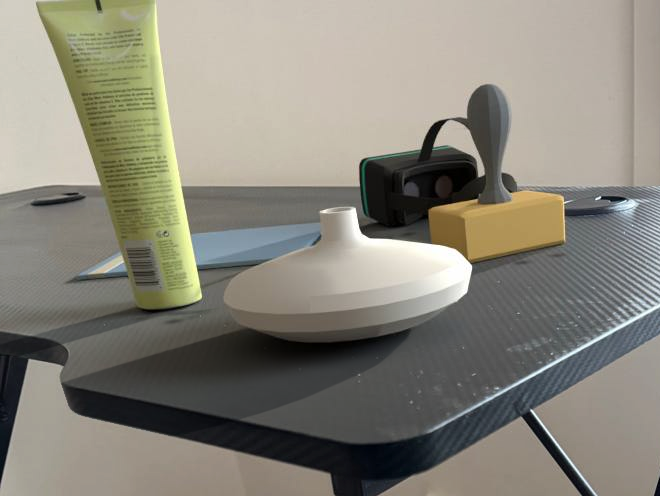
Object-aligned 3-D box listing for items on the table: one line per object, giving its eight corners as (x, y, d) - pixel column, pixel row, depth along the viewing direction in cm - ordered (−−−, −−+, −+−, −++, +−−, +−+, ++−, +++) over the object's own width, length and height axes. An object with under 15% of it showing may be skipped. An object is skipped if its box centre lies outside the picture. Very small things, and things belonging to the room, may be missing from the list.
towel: (77, 280, 83) (76, 275, 83) (144, 242, 98) (143, 237, 98) (296, 260, 82) (295, 255, 81) (330, 225, 97) (329, 220, 96)
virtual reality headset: (455, 201, 100) (451, 95, 93) (544, 239, 89) (546, 121, 82) (362, 218, 95) (352, 108, 89) (443, 260, 84) (438, 137, 78)
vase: (196, 336, 62) (168, 222, 58) (396, 287, 69) (382, 182, 65) (301, 384, 51) (274, 247, 47) (526, 319, 58) (519, 196, 54)
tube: (181, 292, 75) (107, -2, 64) (223, 296, 72) (153, -10, 61) (123, 310, 71) (34, 1, 60) (165, 314, 68) (80, -7, 58)
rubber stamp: (465, 265, 74) (449, 90, 67) (431, 256, 78) (413, 91, 71) (567, 243, 77) (562, 76, 71) (529, 235, 82) (521, 77, 75)
